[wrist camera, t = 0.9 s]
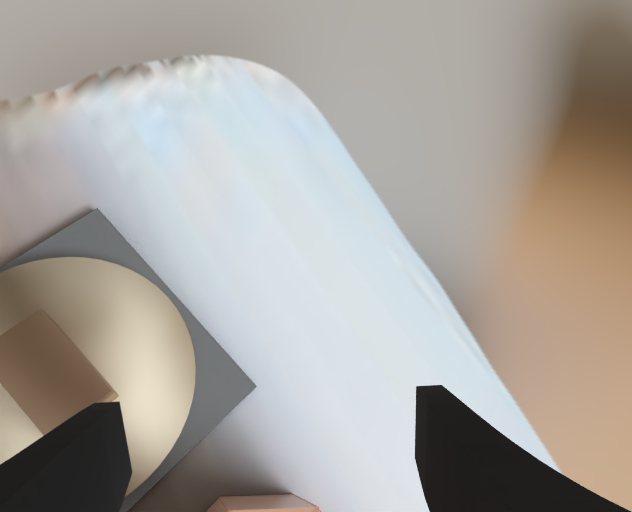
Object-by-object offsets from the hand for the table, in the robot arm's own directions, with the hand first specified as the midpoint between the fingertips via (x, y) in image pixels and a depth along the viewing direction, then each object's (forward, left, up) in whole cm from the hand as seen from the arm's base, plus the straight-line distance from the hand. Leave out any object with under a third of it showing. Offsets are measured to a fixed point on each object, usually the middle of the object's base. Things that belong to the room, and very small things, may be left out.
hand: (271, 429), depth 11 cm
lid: (-4, +7, -15) cm, 17 cm away
